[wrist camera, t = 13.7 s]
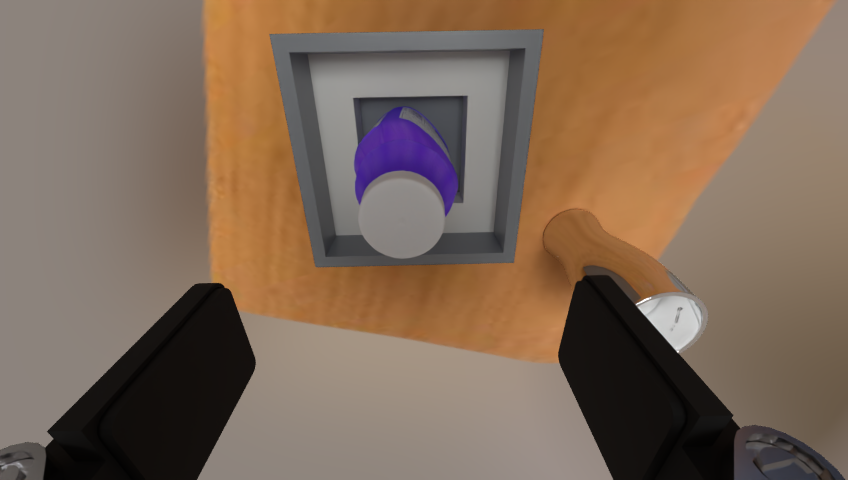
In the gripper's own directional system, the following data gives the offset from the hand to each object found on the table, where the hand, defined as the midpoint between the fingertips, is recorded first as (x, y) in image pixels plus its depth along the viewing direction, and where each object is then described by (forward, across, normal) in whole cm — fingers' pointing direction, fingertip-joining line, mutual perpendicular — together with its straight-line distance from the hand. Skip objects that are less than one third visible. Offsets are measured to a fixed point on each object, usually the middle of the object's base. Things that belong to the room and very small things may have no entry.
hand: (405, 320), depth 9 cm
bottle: (+24, 0, 0) cm, 24 cm away
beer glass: (+25, -17, +11) cm, 32 cm away
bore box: (+25, 0, +1) cm, 25 cm away
